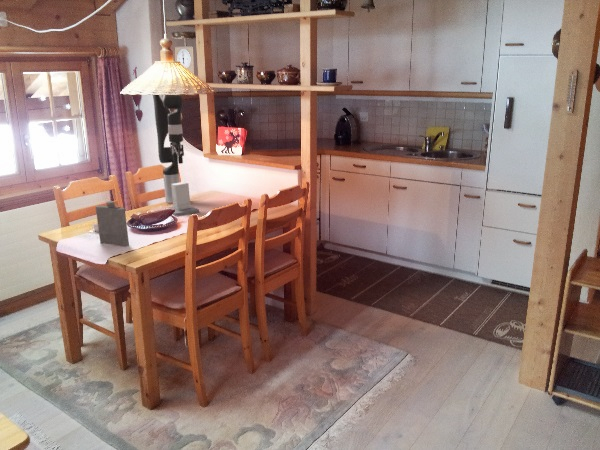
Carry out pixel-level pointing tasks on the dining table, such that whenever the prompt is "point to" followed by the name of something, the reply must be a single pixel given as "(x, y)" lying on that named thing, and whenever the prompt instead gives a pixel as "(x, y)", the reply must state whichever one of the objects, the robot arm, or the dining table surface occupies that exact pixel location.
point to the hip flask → (112, 224)
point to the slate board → (184, 211)
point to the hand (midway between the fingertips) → (178, 162)
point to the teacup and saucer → (94, 228)
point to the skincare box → (180, 195)
